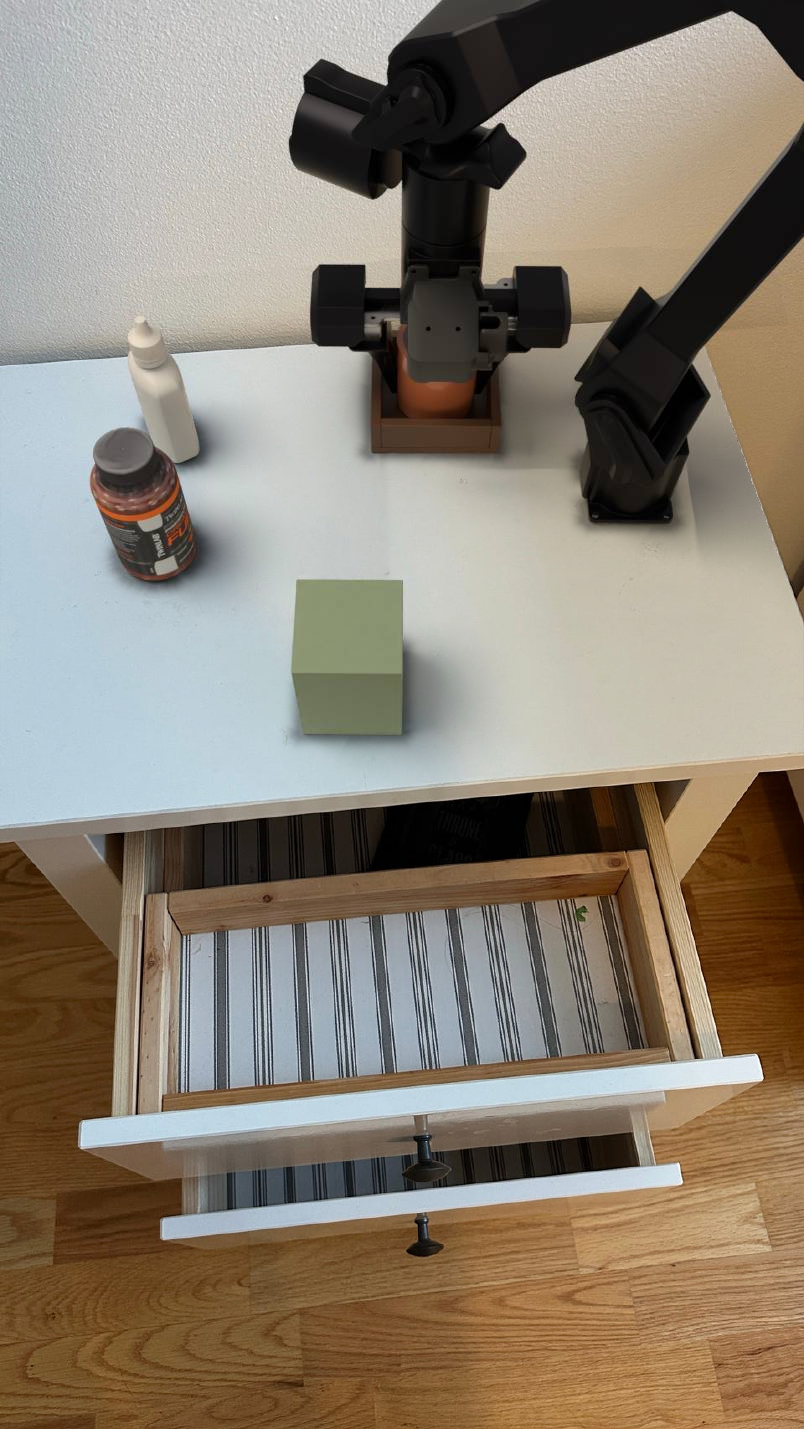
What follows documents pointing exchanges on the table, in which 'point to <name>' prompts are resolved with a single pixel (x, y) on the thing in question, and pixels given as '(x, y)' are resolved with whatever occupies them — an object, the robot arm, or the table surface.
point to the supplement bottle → (142, 505)
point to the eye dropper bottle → (161, 393)
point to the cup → (430, 391)
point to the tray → (434, 423)
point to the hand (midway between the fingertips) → (435, 389)
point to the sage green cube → (348, 656)
